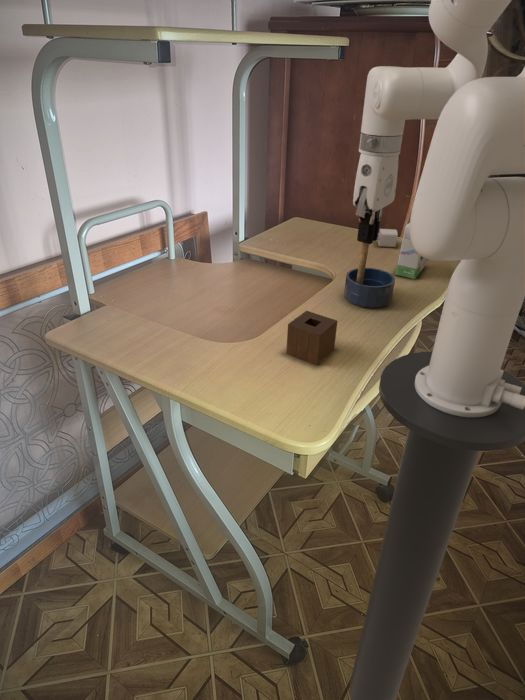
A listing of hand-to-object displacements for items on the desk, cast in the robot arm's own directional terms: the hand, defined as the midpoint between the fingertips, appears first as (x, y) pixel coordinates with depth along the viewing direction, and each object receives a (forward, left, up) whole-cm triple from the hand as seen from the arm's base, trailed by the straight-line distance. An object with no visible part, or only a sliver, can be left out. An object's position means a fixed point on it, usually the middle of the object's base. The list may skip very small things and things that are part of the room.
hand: (367, 240), depth 101 cm
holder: (-3, +26, -13) cm, 29 cm away
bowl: (-2, 0, -13) cm, 13 cm away
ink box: (-4, -20, -13) cm, 24 cm away
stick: (0, 0, -11) cm, 11 cm away
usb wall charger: (+9, -33, -13) cm, 37 cm away
